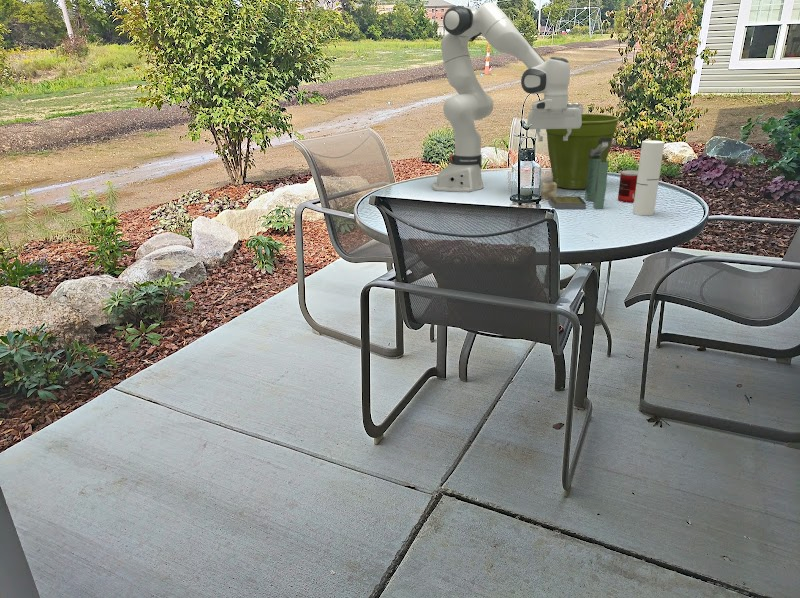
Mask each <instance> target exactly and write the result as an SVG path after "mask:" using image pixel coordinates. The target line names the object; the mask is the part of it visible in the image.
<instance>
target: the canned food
mask: <svg viewBox="0 0 800 598" xmlns="http://www.w3.org/2000/svg"><path fill="white" fill-rule="evenodd" d="M637 176H638V170H633V169H629V170H628V169H627V170H622V171H621V172H620V177H619V178H620V179H619V185H618V186H619V187H618V193H617V200H618V201H619V202H621V201H623V202H622V203H634V198H635V191H636V183H637Z"/></svg>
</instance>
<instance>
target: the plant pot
mask: <svg viewBox="0 0 800 598" xmlns="http://www.w3.org/2000/svg"><path fill="white" fill-rule="evenodd" d="M581 117H582V125H581V127H580V128H579V129H572V130H571V133H570V135H569V136H568V141H563V136H566V134H567V133H568V131H567V129H545V132H546V140H547V141H546V142H547V151H548V158H549V163H550V170H551V173H552V182H555V183H556V184H557V188H561V189H568V190H585V189H586V179H587V169H588V159H589V157H590V156H589V152H590V149H596V148H597V147H598V146H599V145H600V144H598V140H599V139H600V138H611V142H610V143H609V144H608V147H607V148H606V149H605V150H604V151H603V152H602V156H601V157H600V158H601V159H602V161H607V160H608V156H609V154H610V150H611V147H612V143H613V140H614V139H613V138H614V135H615V133H616V128H617V126H618V124H617V123H618V121H619V120H620V117H619V116H615V115H609V114H599V113H582V115H581Z"/></svg>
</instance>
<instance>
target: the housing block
mask: <svg viewBox="0 0 800 598" xmlns="http://www.w3.org/2000/svg"><path fill="white" fill-rule="evenodd" d="M557 188H558V187H557V184H556V183H555V182H553V181H552V182H551V181H545V182H544V181H542V183H541V193H540V197H541V200H543V199H545V201H546V200H547V201H548V197H557V190H558V189H557Z"/></svg>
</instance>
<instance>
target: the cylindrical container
mask: <svg viewBox="0 0 800 598" xmlns="http://www.w3.org/2000/svg"><path fill="white" fill-rule="evenodd" d="M664 147H665V141H662V140H642V142H641V146H640V155H639V160H638V161H639V162H638V169H637V171H638V176H637V183H636V191H635V198H634V202H633V207H632V214H634V213H635V214H634V215H636V214H638V215H637V216H643V215H649V216H654V215H655V208H656V202H657V196H658V189H659V181H660V175H661V169H662V163H663V162H662V161H663V157H664V156H663V155H664Z"/></svg>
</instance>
